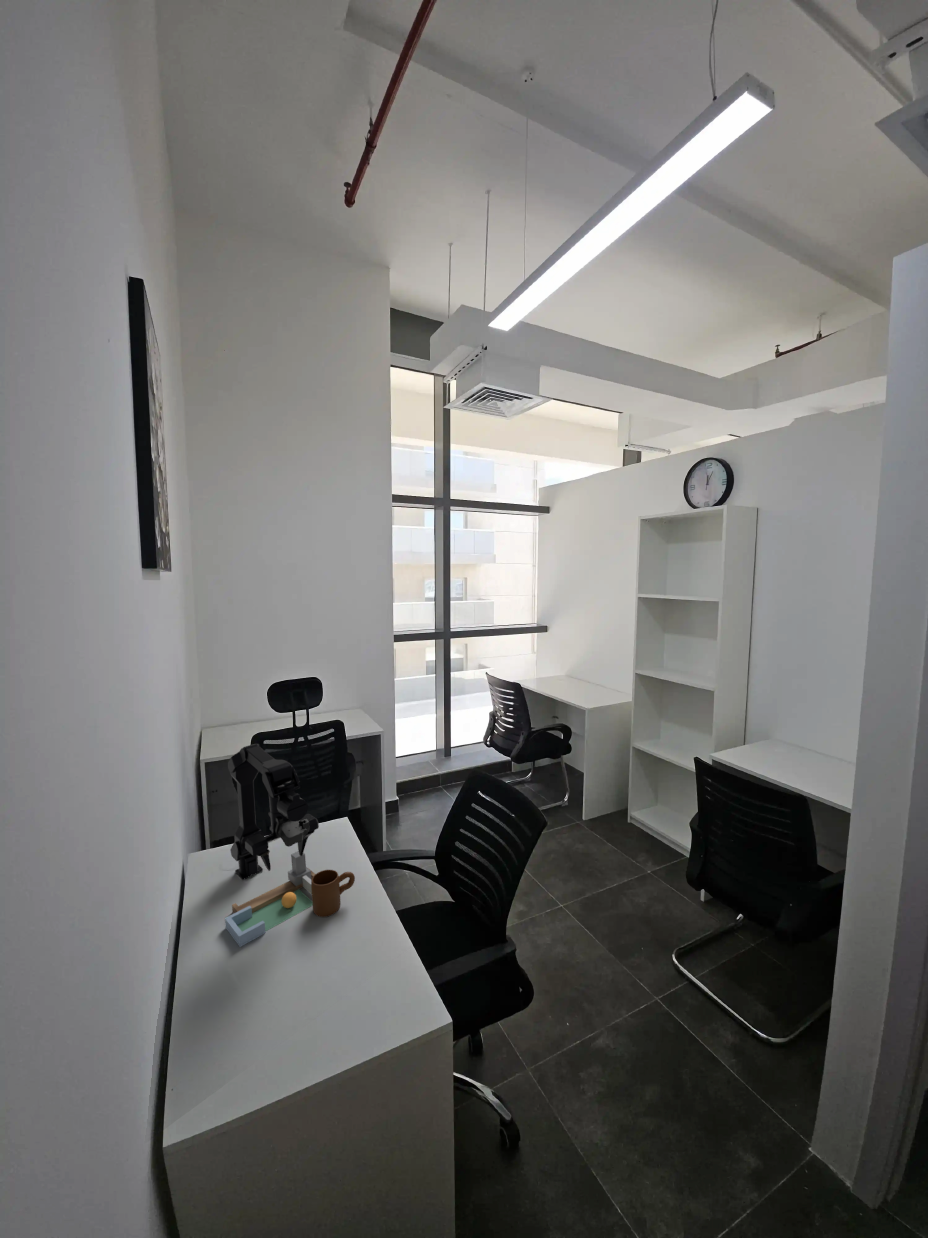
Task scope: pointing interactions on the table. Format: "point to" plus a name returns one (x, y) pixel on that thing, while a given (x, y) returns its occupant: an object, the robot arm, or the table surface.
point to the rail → (269, 896)
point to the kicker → (300, 871)
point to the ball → (289, 900)
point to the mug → (328, 891)
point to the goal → (247, 934)
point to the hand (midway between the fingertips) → (285, 862)
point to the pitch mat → (277, 912)
